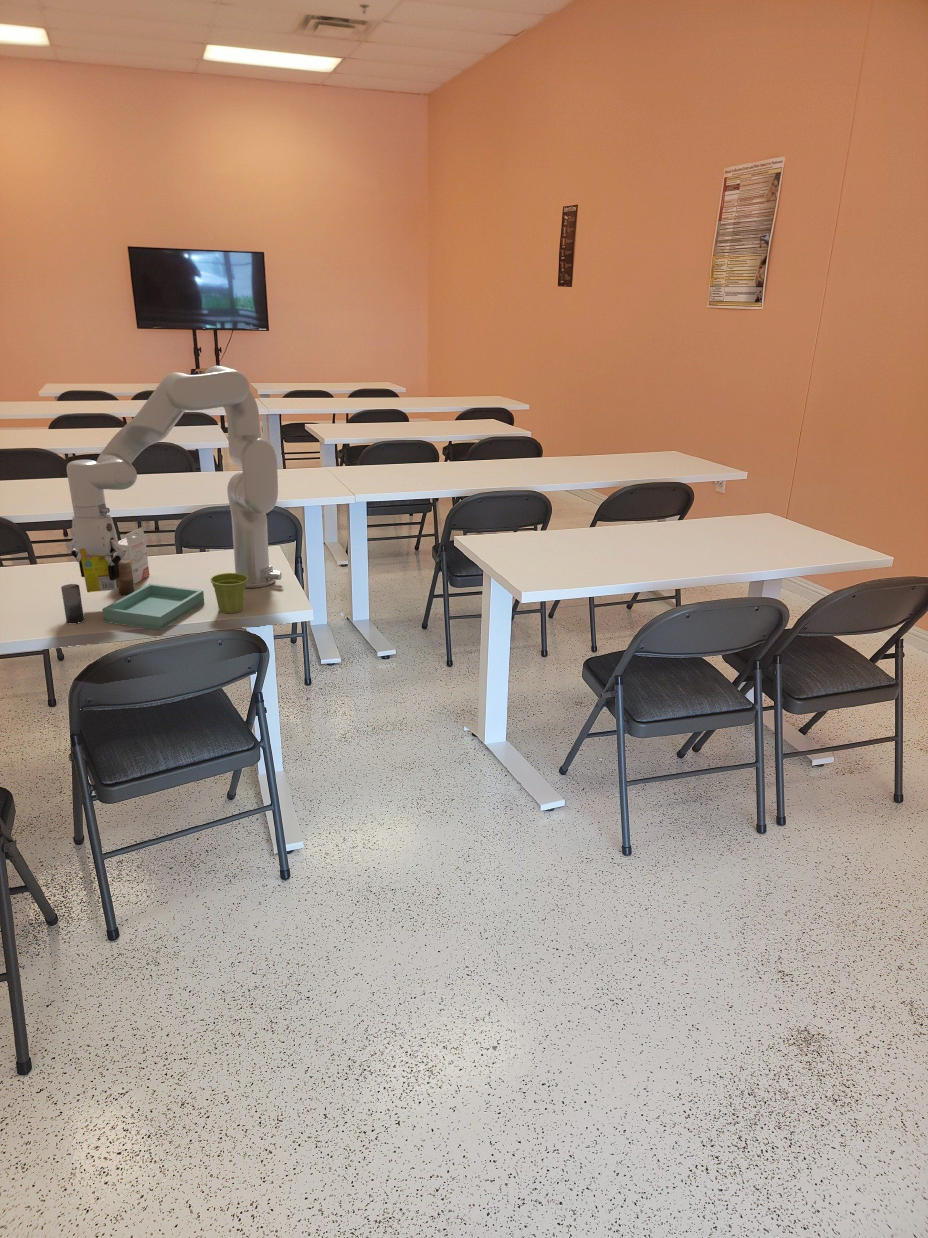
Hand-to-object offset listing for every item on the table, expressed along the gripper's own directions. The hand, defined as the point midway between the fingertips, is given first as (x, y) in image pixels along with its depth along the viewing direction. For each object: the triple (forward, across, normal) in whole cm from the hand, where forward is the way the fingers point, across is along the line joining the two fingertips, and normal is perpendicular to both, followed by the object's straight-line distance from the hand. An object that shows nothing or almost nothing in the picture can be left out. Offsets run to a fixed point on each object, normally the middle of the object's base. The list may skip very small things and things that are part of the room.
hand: (100, 576), depth 205 cm
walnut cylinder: (+8, 0, -10) cm, 13 cm away
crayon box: (+4, 0, 0) cm, 4 cm away
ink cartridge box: (+9, +6, -20) cm, 23 cm away
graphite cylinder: (+8, 0, +11) cm, 14 cm away
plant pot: (+9, -32, -8) cm, 34 cm away
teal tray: (+8, -14, 0) cm, 17 cm away
